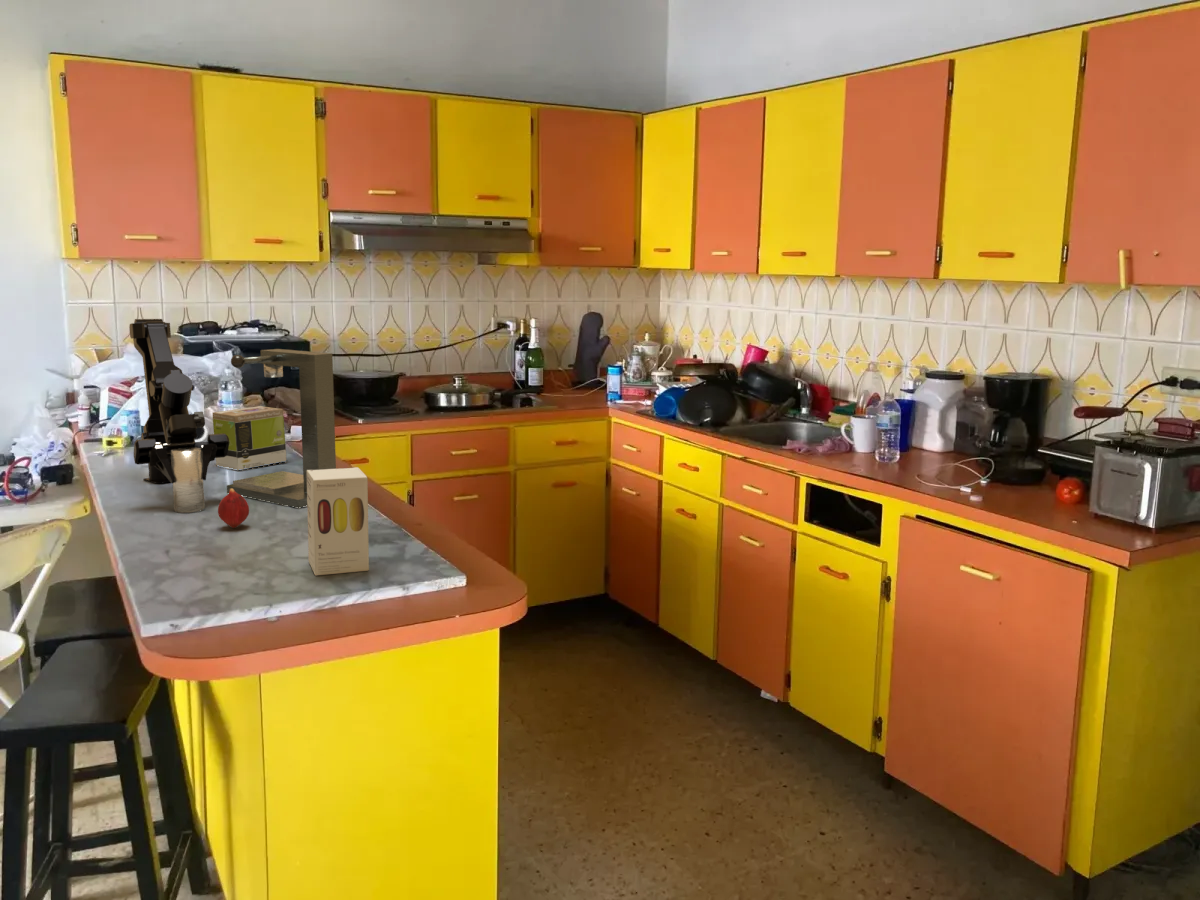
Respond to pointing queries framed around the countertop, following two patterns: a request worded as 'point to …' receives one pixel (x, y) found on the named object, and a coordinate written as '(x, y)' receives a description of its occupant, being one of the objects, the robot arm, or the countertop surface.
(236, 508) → the onion
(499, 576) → the countertop surface
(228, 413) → the tea box
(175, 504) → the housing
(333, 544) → the supplement box
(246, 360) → the arbor press
